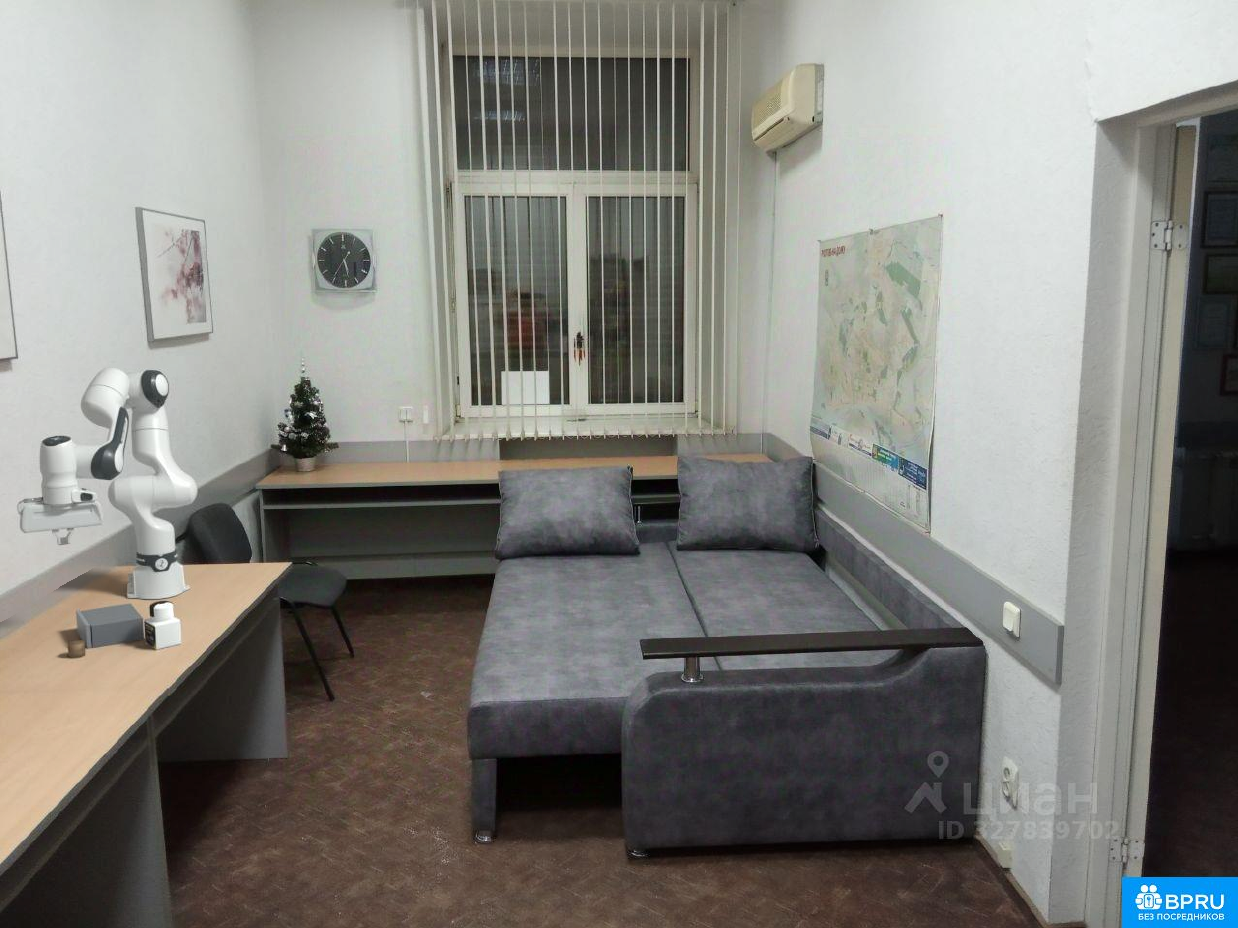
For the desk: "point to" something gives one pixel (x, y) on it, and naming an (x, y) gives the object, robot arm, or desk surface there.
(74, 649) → the brown rounded piece
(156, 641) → the medicine bottle
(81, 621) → the tray
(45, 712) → the desk surface
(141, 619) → the housing
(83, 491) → the robot arm
